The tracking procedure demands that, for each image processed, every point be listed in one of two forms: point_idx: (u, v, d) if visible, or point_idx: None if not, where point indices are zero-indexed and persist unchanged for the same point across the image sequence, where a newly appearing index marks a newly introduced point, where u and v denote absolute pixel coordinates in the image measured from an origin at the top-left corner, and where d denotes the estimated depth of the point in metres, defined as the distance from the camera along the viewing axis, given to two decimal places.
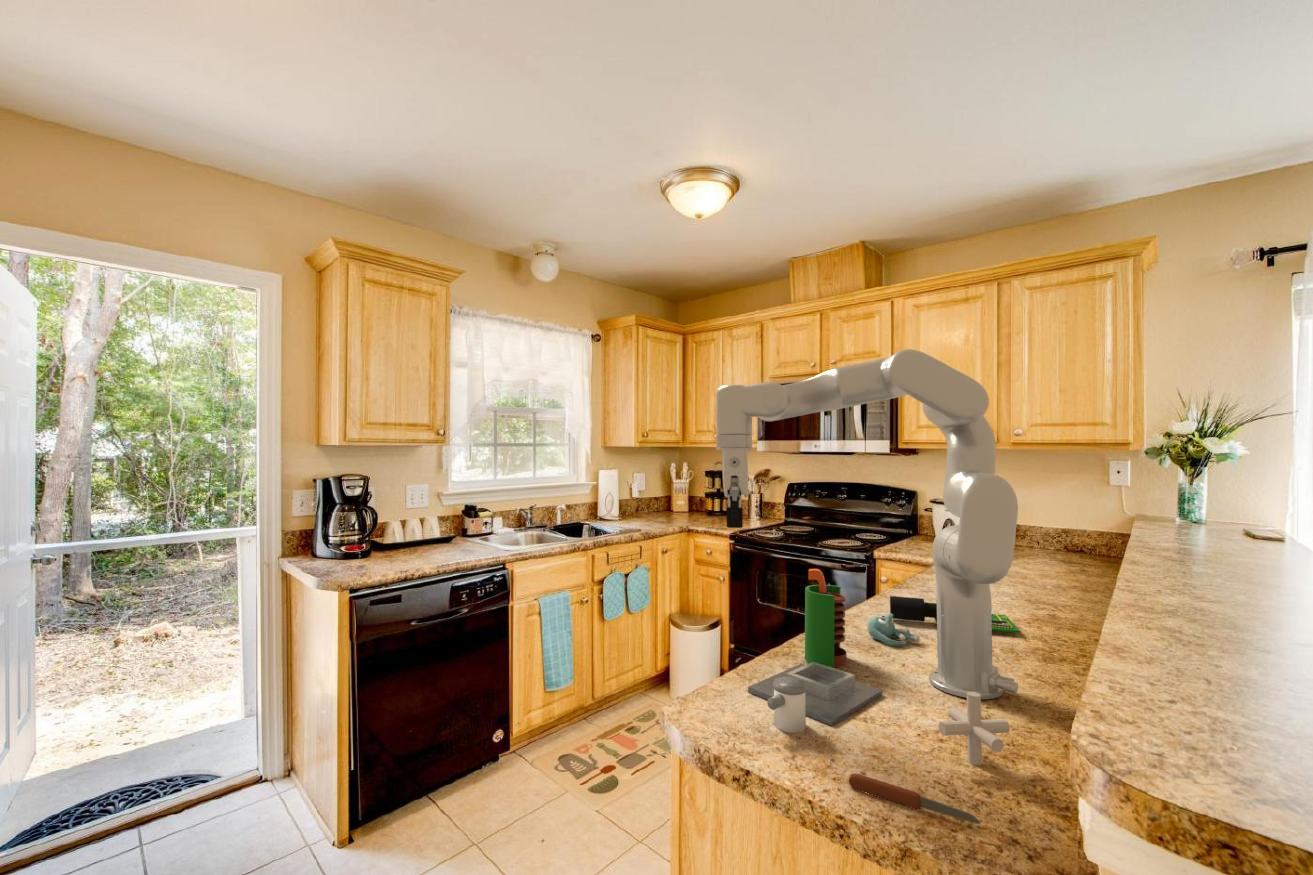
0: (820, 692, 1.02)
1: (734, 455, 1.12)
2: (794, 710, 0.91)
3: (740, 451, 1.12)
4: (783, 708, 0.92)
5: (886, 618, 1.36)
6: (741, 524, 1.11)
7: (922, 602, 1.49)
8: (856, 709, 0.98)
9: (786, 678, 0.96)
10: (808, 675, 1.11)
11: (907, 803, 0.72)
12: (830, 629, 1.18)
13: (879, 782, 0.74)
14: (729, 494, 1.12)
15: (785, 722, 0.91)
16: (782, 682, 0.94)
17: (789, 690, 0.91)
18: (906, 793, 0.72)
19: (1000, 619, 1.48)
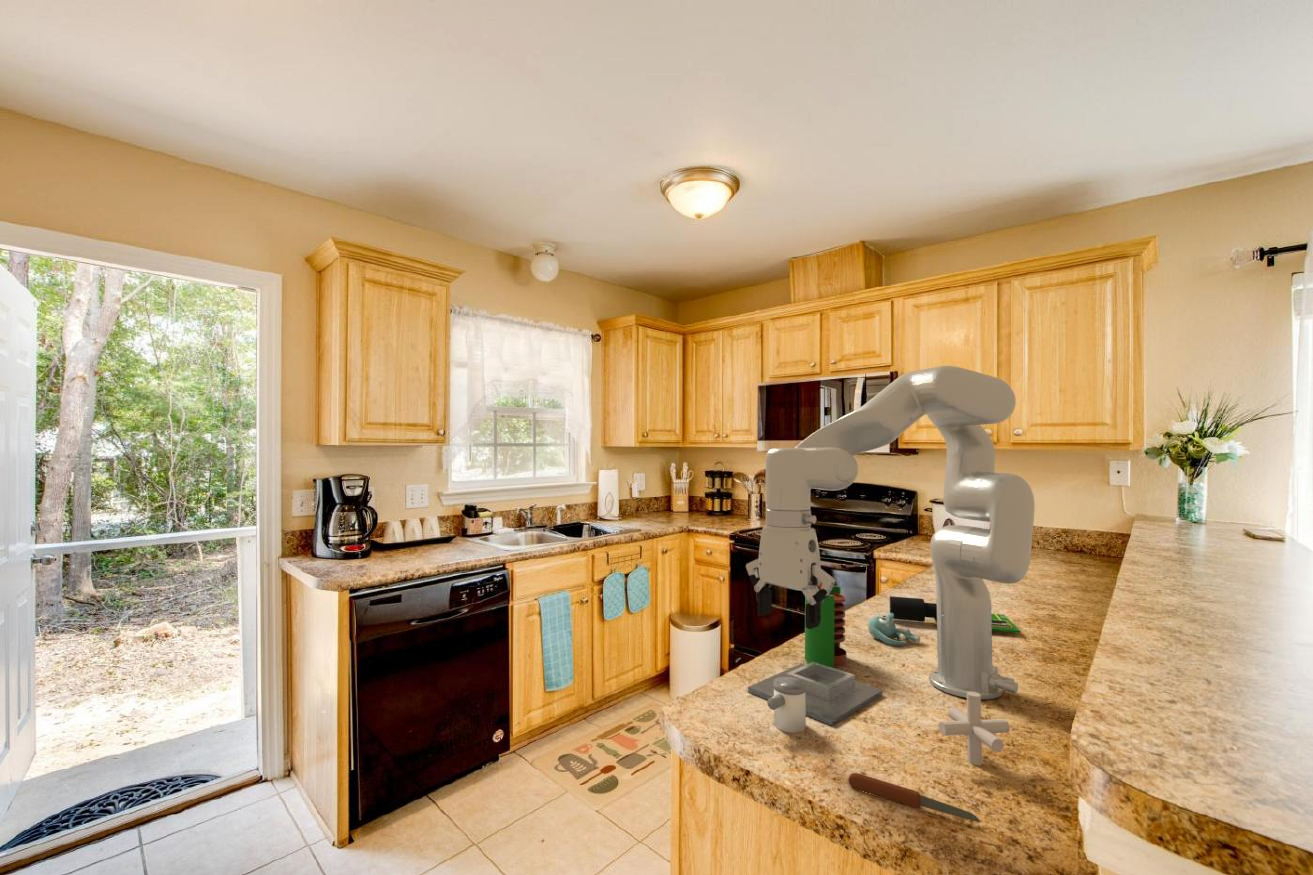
0: (820, 692, 1.02)
1: (811, 537, 0.91)
2: (794, 710, 0.91)
3: (814, 531, 0.92)
4: (783, 708, 0.92)
5: (887, 618, 1.36)
6: None
7: (922, 602, 1.48)
8: (856, 709, 0.98)
9: (786, 678, 0.96)
10: (808, 675, 1.11)
11: (907, 802, 0.72)
12: (830, 629, 1.18)
13: (879, 781, 0.74)
14: (807, 586, 0.90)
15: (785, 722, 0.91)
16: (782, 682, 0.94)
17: (789, 690, 0.91)
18: (906, 792, 0.72)
19: (999, 619, 1.48)
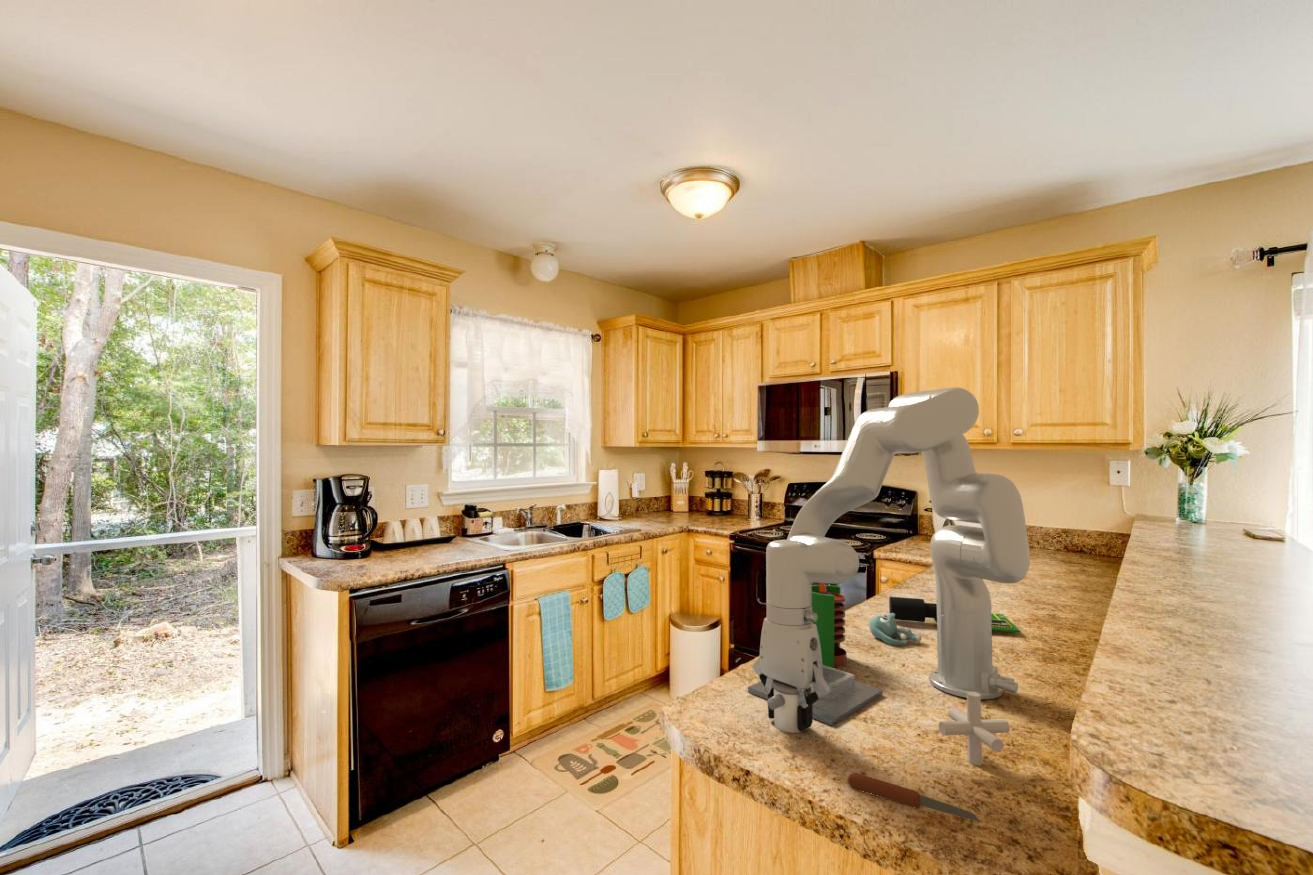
0: None
1: (812, 635, 0.91)
2: (794, 710, 0.91)
3: (815, 628, 0.92)
4: (783, 708, 0.92)
5: (888, 617, 1.37)
6: None
7: (922, 603, 1.48)
8: (856, 709, 0.98)
9: None
10: None
11: (907, 802, 0.72)
12: (830, 629, 1.18)
13: (878, 781, 0.74)
14: (804, 689, 0.90)
15: (785, 722, 0.91)
16: (782, 682, 0.94)
17: (789, 690, 0.91)
18: (906, 792, 0.72)
19: (998, 618, 1.49)
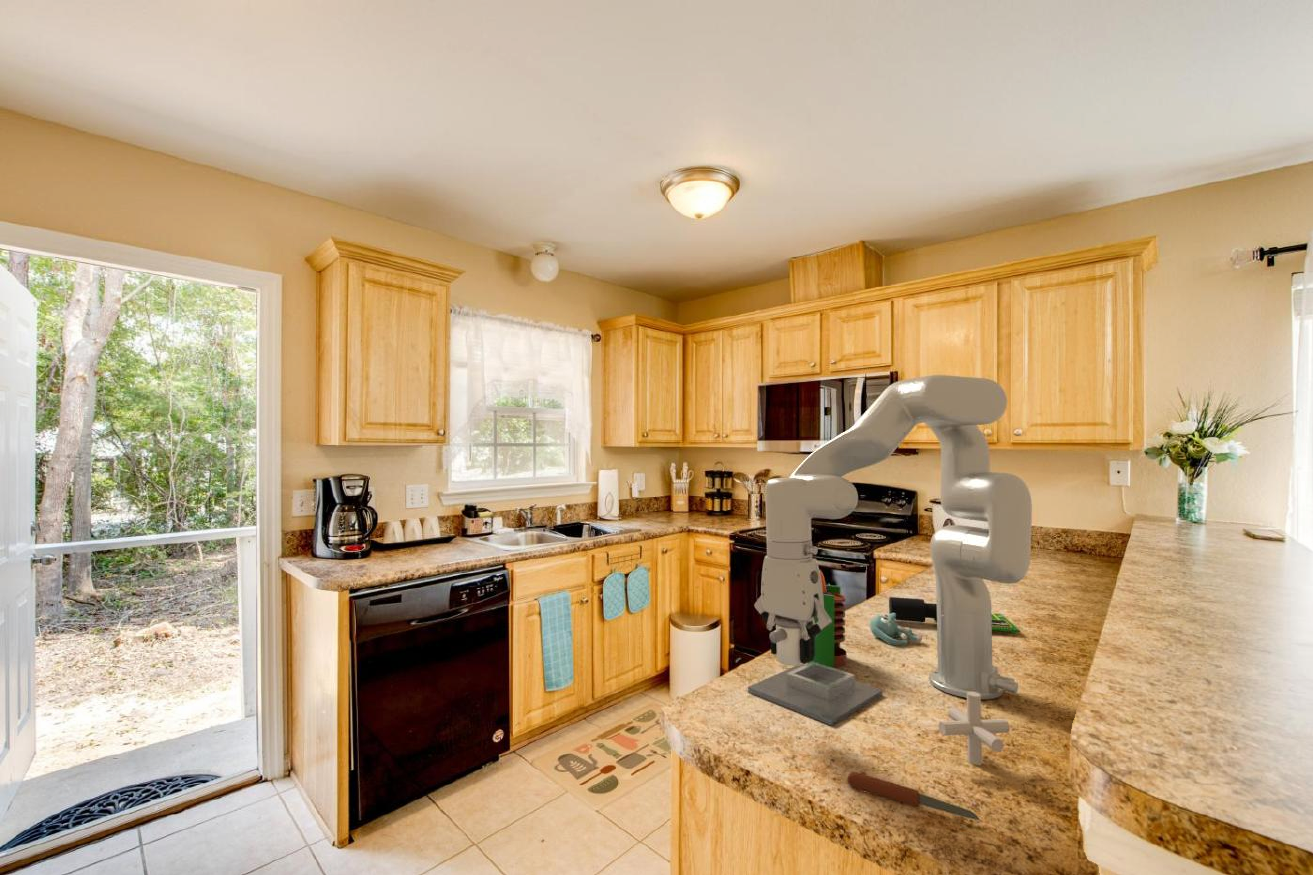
0: (820, 692, 1.02)
1: (812, 568, 0.91)
2: (796, 644, 0.92)
3: (816, 562, 0.92)
4: (785, 642, 0.92)
5: (888, 617, 1.37)
6: None
7: (922, 603, 1.48)
8: (856, 709, 0.98)
9: None
10: (808, 675, 1.11)
11: (906, 801, 0.72)
12: (830, 629, 1.18)
13: (878, 780, 0.74)
14: (805, 622, 0.91)
15: (788, 656, 0.92)
16: (784, 618, 0.95)
17: (791, 624, 0.92)
18: (905, 791, 0.72)
19: (997, 618, 1.49)
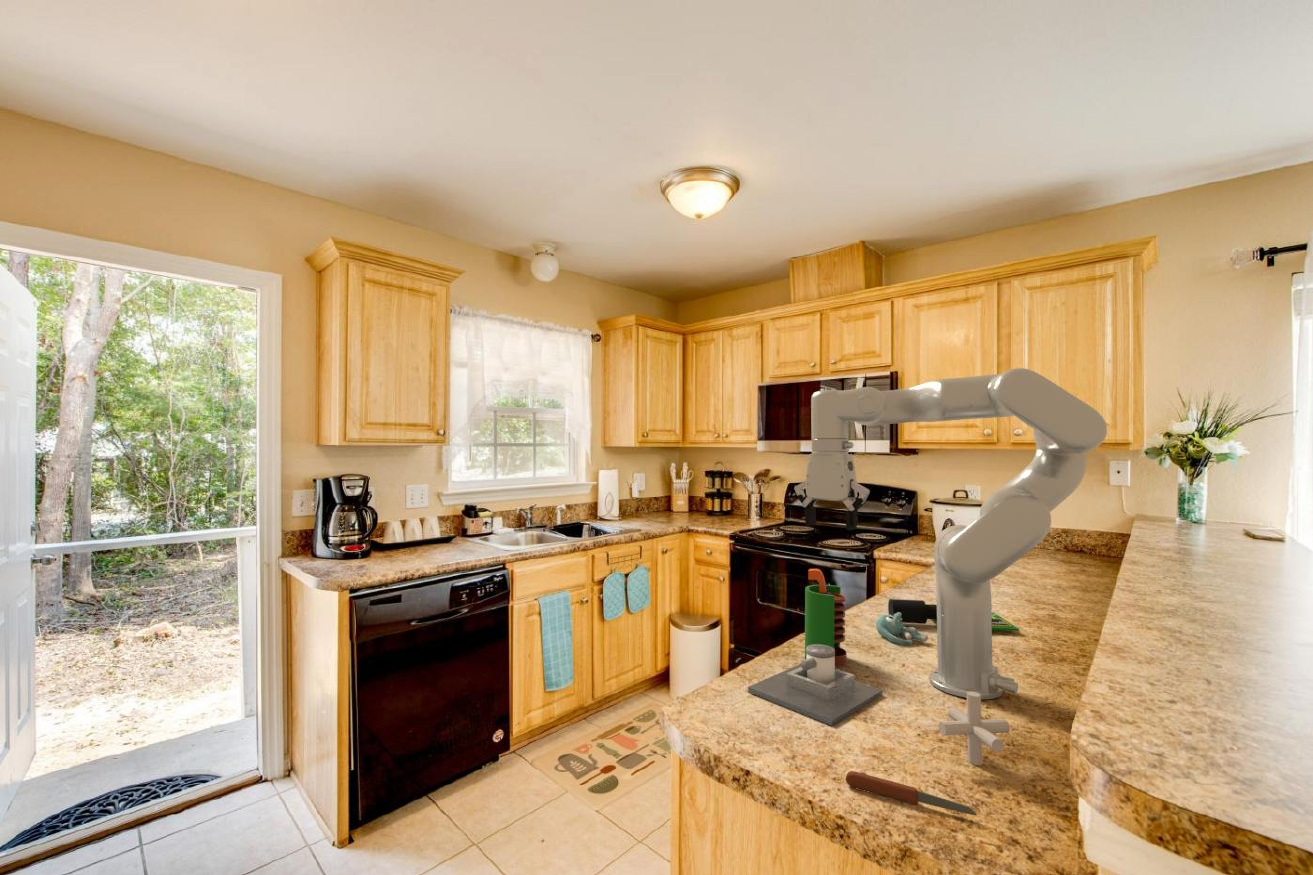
0: (820, 692, 1.02)
1: (849, 459, 1.15)
2: (824, 671, 1.05)
3: (851, 455, 1.16)
4: (814, 670, 1.05)
5: (894, 616, 1.37)
6: (856, 525, 1.15)
7: (923, 604, 1.47)
8: (856, 709, 0.98)
9: (817, 645, 1.09)
10: None
11: (905, 798, 0.72)
12: (830, 629, 1.18)
13: (876, 779, 0.75)
14: None
15: None
16: (814, 648, 1.08)
17: (820, 654, 1.05)
18: (904, 788, 0.73)
19: (993, 617, 1.50)
